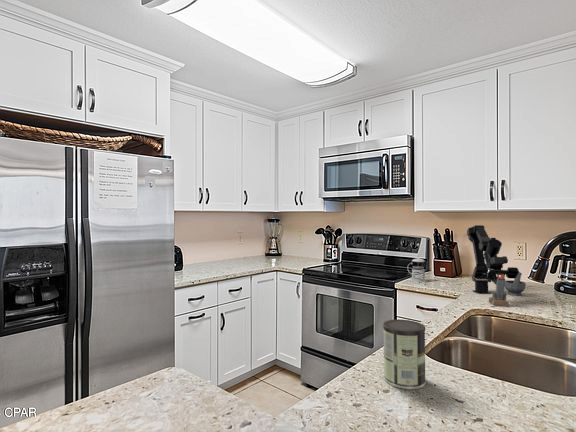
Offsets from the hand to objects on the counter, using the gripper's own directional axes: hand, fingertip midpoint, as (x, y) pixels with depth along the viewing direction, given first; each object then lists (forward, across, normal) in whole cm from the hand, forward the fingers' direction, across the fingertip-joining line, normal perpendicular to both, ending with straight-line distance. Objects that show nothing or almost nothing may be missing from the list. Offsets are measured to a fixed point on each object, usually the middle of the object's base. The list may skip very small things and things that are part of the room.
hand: (499, 286), depth 165 cm
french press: (-34, -31, +47) cm, 66 cm away
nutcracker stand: (+5, 0, +8) cm, 9 cm away
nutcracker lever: (+3, 0, +4) cm, 5 cm away
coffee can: (+71, -50, -58) cm, 104 cm away
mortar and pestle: (-13, +16, +26) cm, 34 cm away
